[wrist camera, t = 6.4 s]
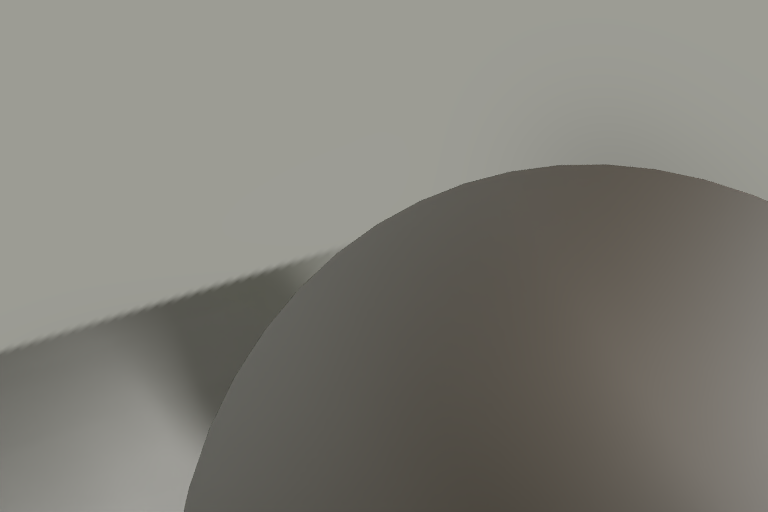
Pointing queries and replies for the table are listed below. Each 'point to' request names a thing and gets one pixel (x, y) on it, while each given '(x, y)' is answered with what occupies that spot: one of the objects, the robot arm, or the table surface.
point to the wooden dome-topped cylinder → (515, 358)
